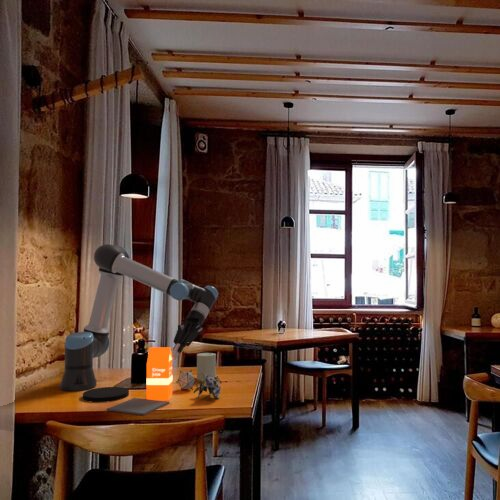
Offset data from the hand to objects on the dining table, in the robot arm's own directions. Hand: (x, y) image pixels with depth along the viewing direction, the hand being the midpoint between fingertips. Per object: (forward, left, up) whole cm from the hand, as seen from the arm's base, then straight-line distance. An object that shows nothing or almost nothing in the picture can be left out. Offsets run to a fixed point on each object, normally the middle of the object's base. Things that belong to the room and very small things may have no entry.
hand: (172, 358), depth 185 cm
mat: (-1, -22, -14) cm, 26 cm away
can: (0, +29, -15) cm, 33 cm away
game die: (+2, +7, -15) cm, 17 cm away
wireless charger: (-23, -14, -15) cm, 30 cm away
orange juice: (-1, -8, -15) cm, 17 cm away
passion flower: (+17, -2, -15) cm, 23 cm away
